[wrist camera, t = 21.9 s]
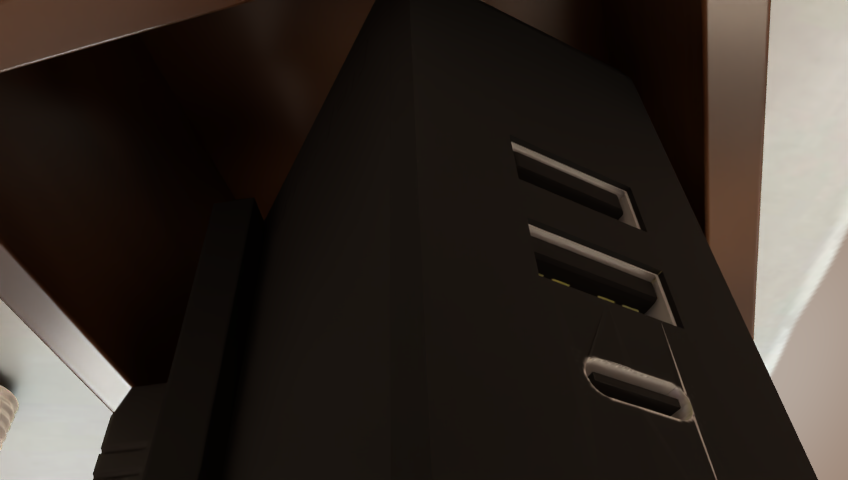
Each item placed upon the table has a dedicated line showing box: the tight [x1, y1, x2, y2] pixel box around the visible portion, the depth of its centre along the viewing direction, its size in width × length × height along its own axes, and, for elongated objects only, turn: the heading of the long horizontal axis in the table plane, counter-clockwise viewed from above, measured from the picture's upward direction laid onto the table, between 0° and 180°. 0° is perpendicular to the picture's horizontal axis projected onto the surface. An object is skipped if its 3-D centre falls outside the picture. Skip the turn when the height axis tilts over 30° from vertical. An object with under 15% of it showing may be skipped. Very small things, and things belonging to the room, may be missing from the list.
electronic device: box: [221, 0, 818, 480], centre depth 11 cm, size 4×10×10 cm, turn 152°
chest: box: [0, 0, 771, 413], centre depth 17 cm, size 16×13×9 cm
